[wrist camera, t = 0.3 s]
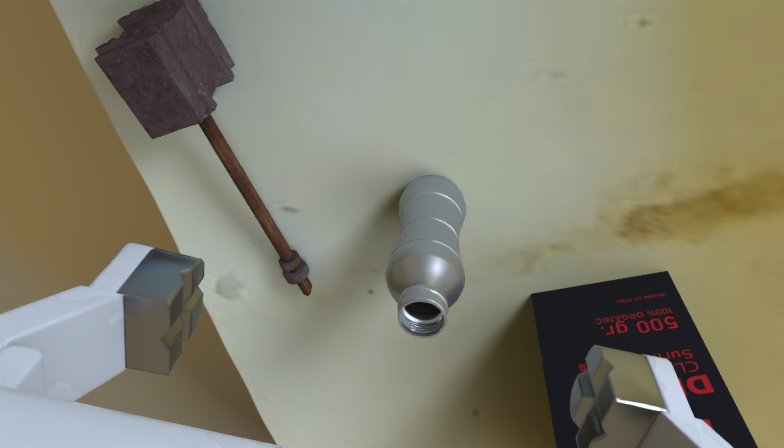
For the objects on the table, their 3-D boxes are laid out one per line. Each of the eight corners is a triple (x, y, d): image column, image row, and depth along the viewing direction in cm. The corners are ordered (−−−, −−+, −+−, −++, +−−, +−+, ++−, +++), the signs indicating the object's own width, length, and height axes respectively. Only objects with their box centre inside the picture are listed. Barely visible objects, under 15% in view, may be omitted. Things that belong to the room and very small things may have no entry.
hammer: (191, -19, 54) (154, 29, 46) (341, 245, 74) (332, 309, 66) (126, 7, 56) (80, 58, 48) (290, 258, 75) (275, 322, 68)
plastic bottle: (446, 234, 66) (440, 365, 49) (389, 206, 65) (363, 329, 48) (477, 187, 63) (484, 308, 46) (418, 156, 62) (402, 269, 45)
